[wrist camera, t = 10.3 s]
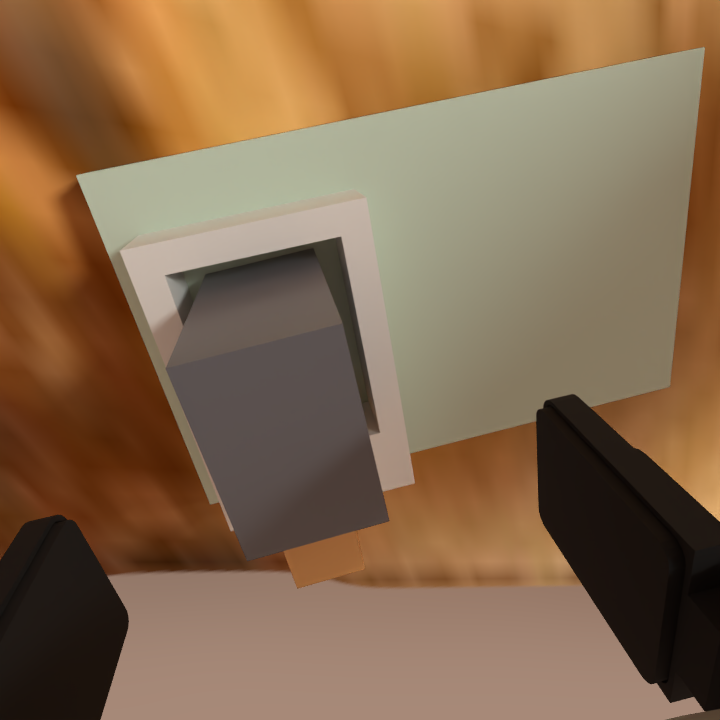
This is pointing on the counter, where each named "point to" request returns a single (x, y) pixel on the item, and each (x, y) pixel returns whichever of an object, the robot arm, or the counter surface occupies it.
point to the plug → (280, 414)
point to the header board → (442, 245)
